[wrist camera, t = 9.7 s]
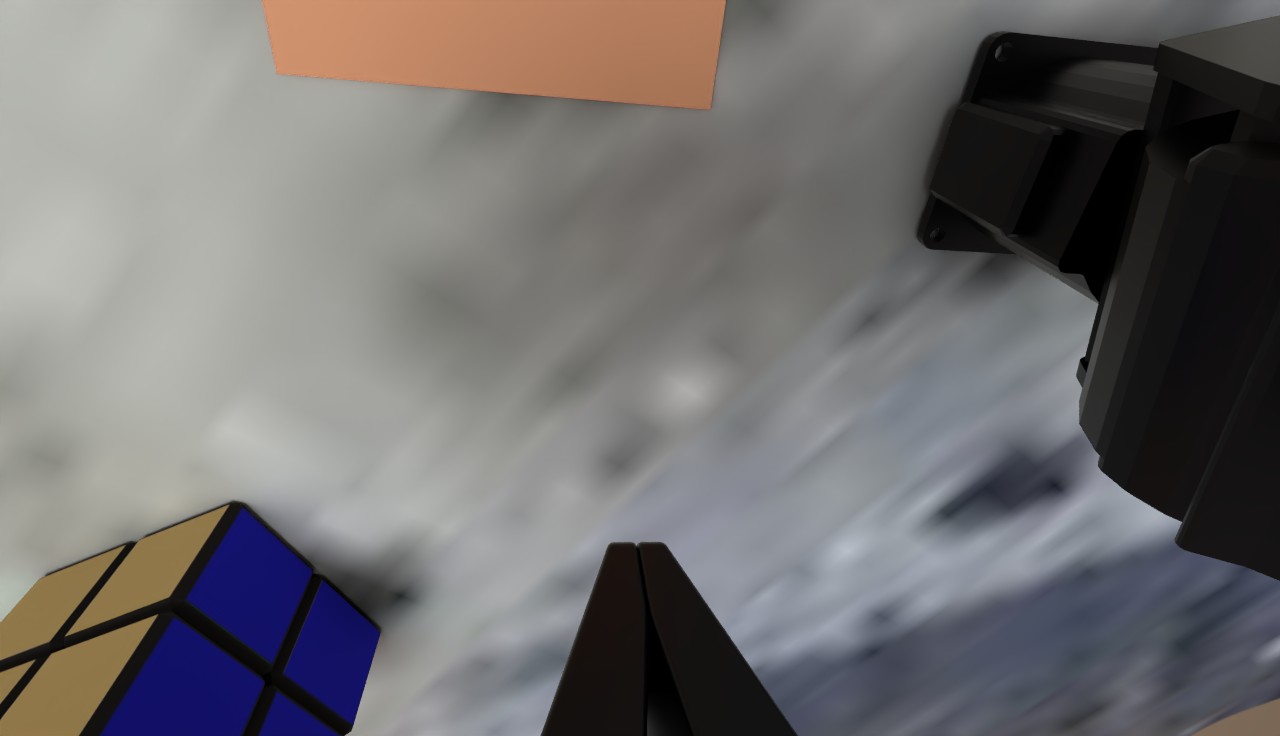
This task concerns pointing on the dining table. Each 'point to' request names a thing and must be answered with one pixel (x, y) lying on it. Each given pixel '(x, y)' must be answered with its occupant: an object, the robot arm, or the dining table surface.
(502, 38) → the mats
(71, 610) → the puzzle cube
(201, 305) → the dining table surface
